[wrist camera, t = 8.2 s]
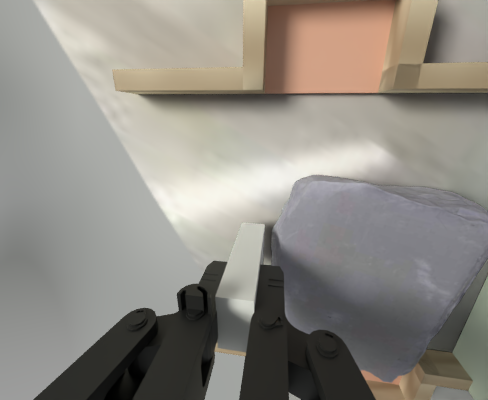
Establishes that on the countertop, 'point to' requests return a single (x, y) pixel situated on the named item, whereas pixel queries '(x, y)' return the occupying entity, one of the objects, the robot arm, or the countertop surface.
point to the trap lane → (346, 81)
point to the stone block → (377, 265)
